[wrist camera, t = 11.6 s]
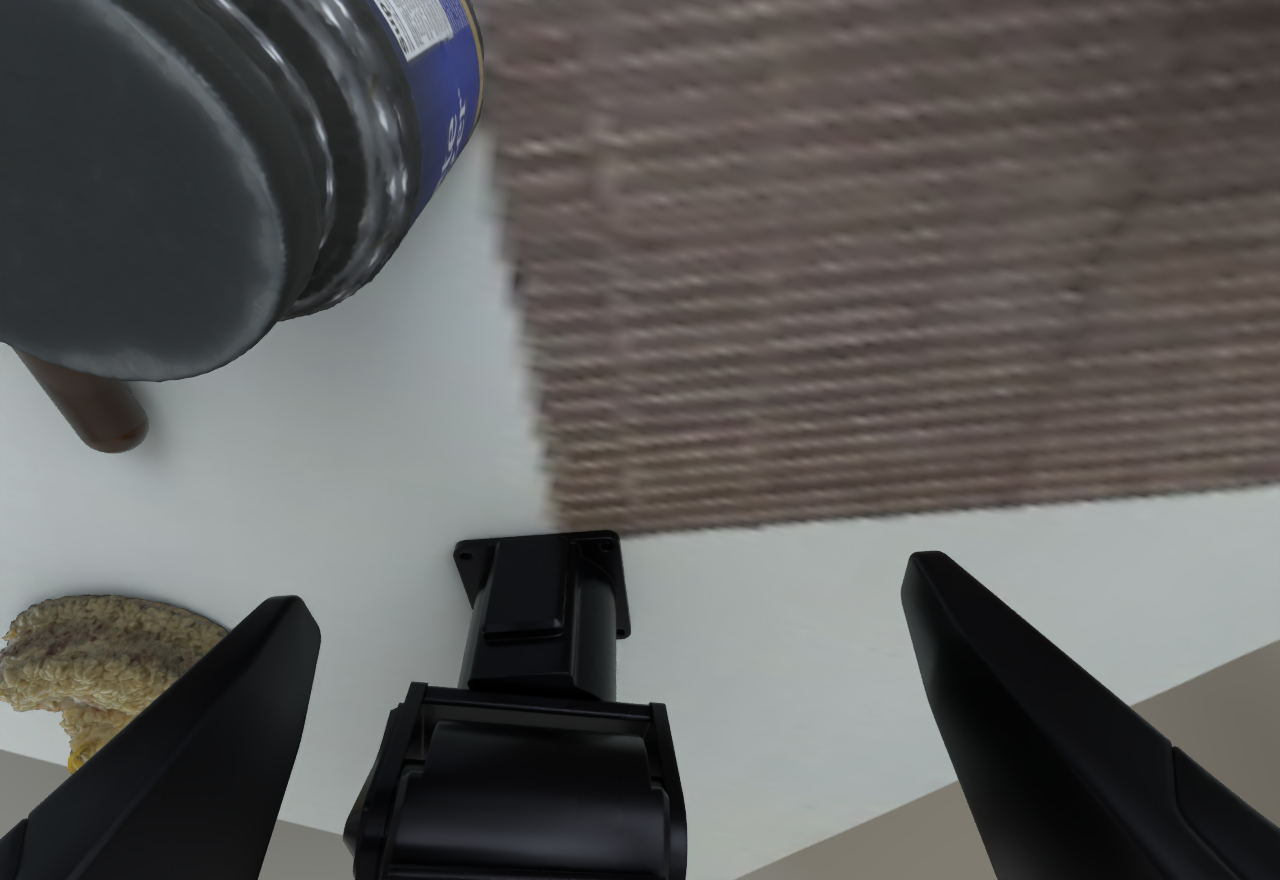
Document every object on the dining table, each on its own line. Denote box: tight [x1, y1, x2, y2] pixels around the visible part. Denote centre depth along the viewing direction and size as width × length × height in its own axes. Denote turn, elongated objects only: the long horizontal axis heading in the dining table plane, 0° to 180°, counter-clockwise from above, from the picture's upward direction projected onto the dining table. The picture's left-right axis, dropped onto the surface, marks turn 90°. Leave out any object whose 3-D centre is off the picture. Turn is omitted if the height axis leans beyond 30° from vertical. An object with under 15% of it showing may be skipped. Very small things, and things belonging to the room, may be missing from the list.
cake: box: [0, 595, 228, 774], centre depth 28 cm, size 10×10×5 cm
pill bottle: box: [0, 0, 484, 382], centre depth 11 cm, size 6×6×11 cm
